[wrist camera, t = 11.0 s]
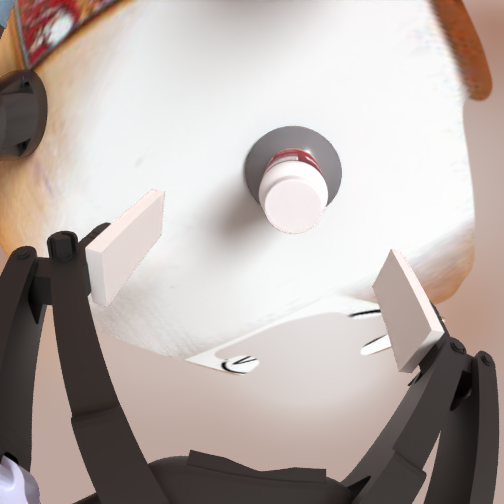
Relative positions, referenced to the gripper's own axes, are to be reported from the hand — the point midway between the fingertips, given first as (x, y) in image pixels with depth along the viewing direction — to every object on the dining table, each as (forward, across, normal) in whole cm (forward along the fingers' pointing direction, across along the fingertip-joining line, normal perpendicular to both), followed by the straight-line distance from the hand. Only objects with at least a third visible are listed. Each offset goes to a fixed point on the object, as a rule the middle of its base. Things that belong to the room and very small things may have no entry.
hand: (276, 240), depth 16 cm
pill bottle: (+19, +2, -1) cm, 19 cm away
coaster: (+19, +2, -1) cm, 19 cm away
